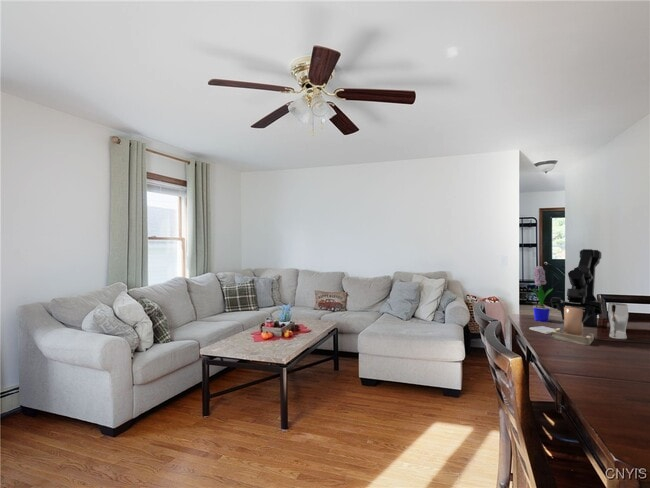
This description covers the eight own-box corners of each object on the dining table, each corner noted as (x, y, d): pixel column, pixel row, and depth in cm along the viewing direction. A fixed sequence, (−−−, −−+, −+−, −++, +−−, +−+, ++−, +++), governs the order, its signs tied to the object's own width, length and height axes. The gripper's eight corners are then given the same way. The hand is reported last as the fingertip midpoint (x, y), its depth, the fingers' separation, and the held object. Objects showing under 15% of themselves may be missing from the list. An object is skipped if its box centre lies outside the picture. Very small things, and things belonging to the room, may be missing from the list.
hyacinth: (557, 322, 182) (557, 266, 182) (535, 321, 184) (535, 266, 184) (549, 318, 191) (549, 264, 191) (529, 318, 193) (529, 264, 193)
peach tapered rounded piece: (566, 331, 158) (566, 305, 158) (584, 334, 153) (584, 308, 153) (562, 335, 153) (562, 308, 153) (581, 338, 148) (581, 310, 148)
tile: (543, 327, 172) (543, 325, 172) (560, 332, 164) (560, 330, 164) (529, 329, 170) (529, 327, 170) (546, 333, 161) (546, 332, 161)
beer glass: (620, 335, 158) (620, 302, 157) (632, 339, 151) (632, 305, 150) (604, 335, 158) (604, 302, 158) (615, 339, 151) (615, 305, 151)
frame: (557, 334, 160) (557, 327, 160) (593, 340, 150) (593, 333, 150) (551, 338, 153) (551, 332, 153) (588, 345, 143) (588, 338, 143)
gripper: (551, 280, 162) (544, 307, 155) (601, 283, 149) (596, 313, 141) (555, 294, 168) (549, 321, 160) (604, 299, 154) (600, 328, 147)
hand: (572, 320), depth 152 cm, fingers closed on peach tapered rounded piece, 7 cm apart
